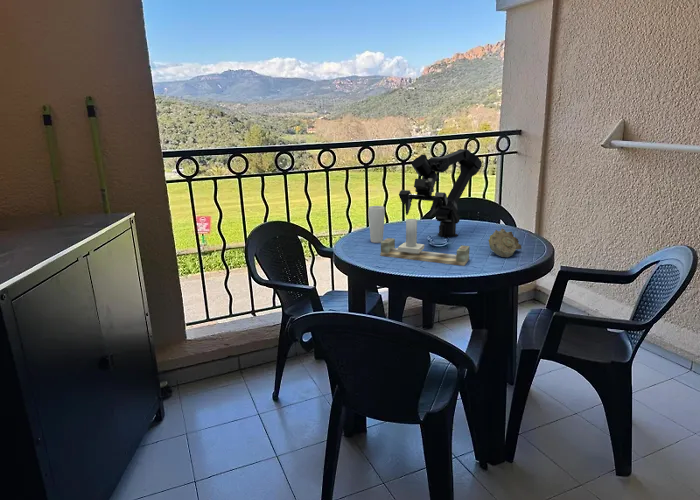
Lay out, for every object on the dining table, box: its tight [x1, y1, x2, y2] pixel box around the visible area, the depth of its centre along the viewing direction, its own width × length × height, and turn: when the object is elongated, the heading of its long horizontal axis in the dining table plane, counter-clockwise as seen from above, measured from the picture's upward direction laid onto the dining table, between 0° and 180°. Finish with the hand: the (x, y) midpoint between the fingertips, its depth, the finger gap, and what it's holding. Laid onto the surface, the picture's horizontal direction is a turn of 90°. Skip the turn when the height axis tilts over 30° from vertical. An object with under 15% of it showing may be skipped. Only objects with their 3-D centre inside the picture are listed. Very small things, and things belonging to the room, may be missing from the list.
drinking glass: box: [367, 205, 386, 244], centre depth 185 cm, size 7×7×15 cm
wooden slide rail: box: [379, 237, 471, 267], centre depth 164 cm, size 32×8×6 cm, turn 63°
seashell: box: [488, 228, 522, 258], centre depth 165 cm, size 11×15×10 cm
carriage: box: [397, 218, 425, 253], centre depth 164 cm, size 8×7×12 cm
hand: (417, 215), depth 170 cm, fingers open, 9 cm apart
